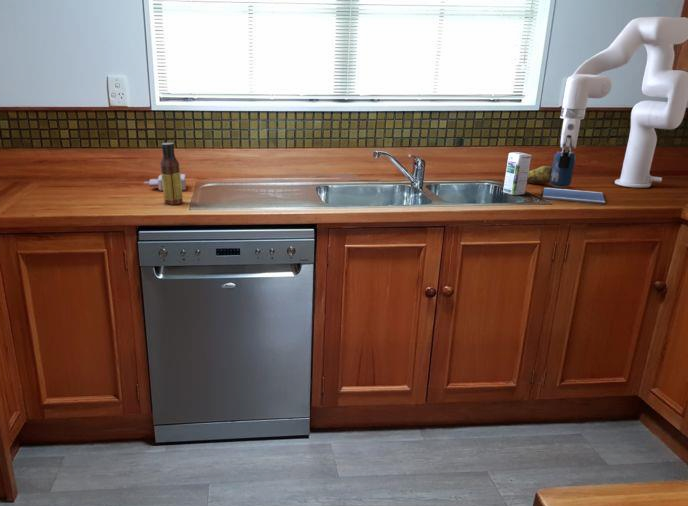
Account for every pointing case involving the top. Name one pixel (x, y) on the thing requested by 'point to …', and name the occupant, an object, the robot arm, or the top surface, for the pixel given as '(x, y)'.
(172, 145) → the sauce bottle
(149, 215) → the top surface
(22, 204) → the top surface
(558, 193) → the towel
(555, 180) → the soda can
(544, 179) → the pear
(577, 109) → the robot arm
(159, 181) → the charger
